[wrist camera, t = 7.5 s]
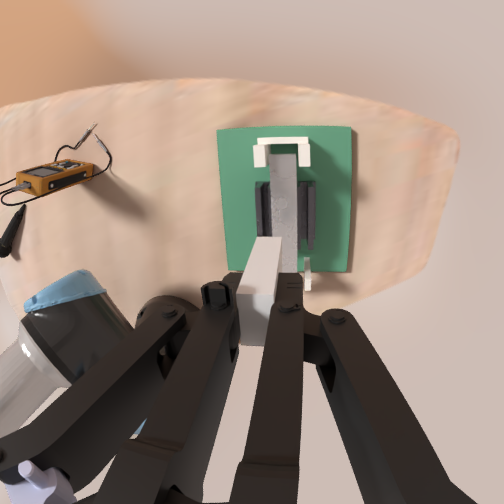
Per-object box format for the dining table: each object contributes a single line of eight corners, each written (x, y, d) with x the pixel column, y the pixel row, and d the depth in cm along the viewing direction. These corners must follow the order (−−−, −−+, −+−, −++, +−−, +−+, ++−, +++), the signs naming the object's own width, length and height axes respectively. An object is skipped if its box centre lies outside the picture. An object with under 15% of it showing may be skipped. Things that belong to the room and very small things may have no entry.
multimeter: (117, 124, 39) (21, 134, 21) (109, 183, 43) (20, 219, 25) (59, 119, 39) (-28, 131, 21) (54, 170, 43) (-28, 198, 25)
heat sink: (314, 236, 40) (316, 249, 36) (258, 236, 42) (254, 249, 37) (315, 180, 37) (317, 187, 33) (256, 181, 38) (250, 187, 34)
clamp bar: (300, 281, 38) (300, 289, 37) (271, 280, 39) (269, 288, 37) (300, 153, 32) (300, 155, 30) (265, 154, 32) (263, 155, 30)
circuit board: (345, 268, 43) (354, 299, 35) (230, 266, 46) (215, 296, 37) (349, 127, 35) (364, 125, 26) (218, 130, 37) (197, 129, 29)
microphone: (30, 197, 50) (5, 244, 55) (13, 195, 45) (-10, 246, 49) (36, 214, 50) (10, 260, 54) (17, 213, 44) (-5, 262, 49)
